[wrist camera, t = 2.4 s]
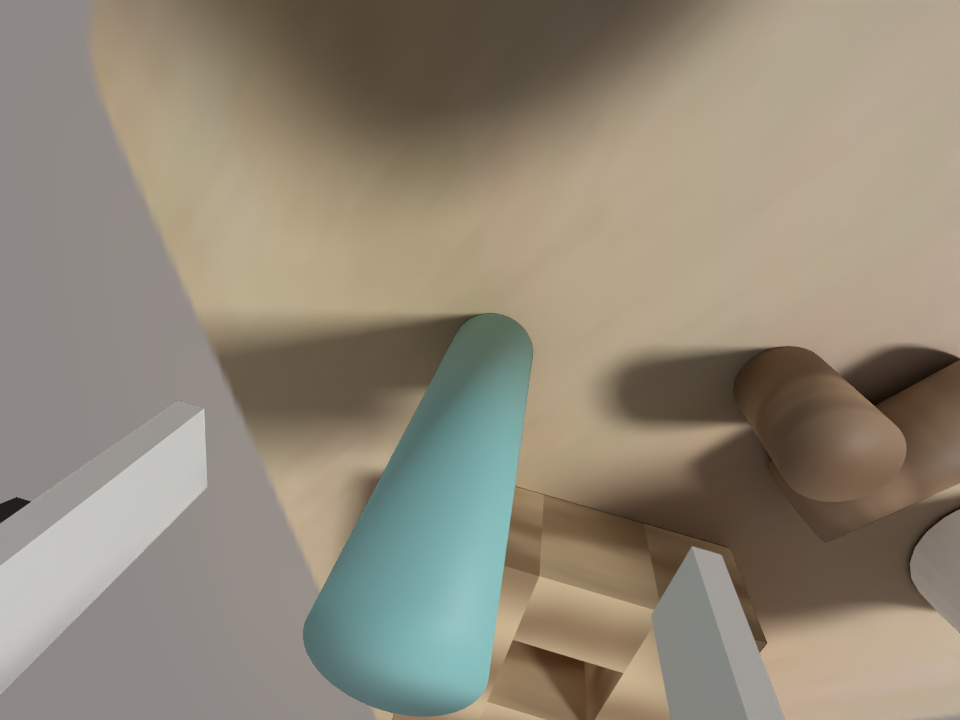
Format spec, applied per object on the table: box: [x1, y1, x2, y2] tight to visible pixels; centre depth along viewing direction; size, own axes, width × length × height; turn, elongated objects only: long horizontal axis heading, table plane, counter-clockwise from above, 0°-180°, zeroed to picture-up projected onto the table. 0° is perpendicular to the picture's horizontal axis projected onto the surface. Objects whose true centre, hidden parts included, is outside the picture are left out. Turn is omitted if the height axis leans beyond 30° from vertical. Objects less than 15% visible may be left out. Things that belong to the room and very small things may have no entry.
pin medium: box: [767, 360, 960, 542], centre depth 19 cm, size 4×4×8 cm
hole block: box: [392, 487, 767, 720], centre depth 25 cm, size 14×14×5 cm
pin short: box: [734, 346, 907, 502], centre depth 18 cm, size 4×4×5 cm
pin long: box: [303, 313, 533, 717], centre depth 15 cm, size 4×4×14 cm
